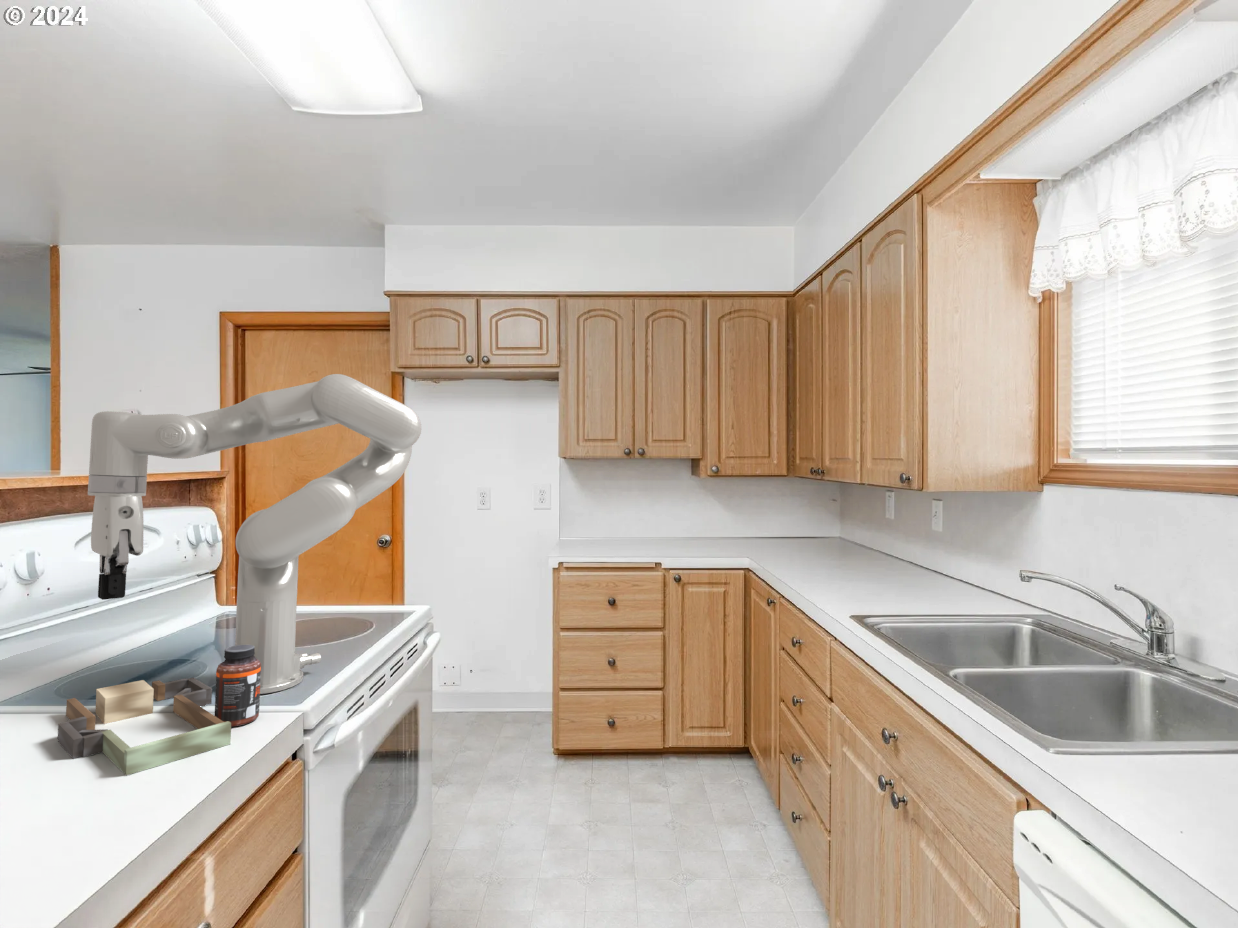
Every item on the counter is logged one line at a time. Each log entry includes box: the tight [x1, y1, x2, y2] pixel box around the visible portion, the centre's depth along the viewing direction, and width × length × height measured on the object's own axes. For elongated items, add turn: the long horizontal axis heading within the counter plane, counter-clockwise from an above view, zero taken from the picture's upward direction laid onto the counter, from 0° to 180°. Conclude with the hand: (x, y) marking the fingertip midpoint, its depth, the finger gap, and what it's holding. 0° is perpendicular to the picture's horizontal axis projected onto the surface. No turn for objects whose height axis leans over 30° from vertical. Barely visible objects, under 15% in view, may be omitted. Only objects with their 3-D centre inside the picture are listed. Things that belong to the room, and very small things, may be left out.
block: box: [95, 679, 154, 725], centre depth 98 cm, size 6×6×4 cm
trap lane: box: [57, 677, 232, 776], centre depth 93 cm, size 19×29×3 cm, turn 53°
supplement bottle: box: [213, 645, 261, 728], centre depth 96 cm, size 6×6×11 cm
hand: (111, 597), depth 103 cm, fingers closed
